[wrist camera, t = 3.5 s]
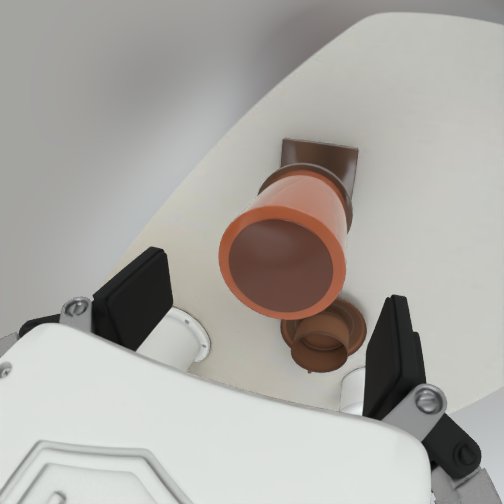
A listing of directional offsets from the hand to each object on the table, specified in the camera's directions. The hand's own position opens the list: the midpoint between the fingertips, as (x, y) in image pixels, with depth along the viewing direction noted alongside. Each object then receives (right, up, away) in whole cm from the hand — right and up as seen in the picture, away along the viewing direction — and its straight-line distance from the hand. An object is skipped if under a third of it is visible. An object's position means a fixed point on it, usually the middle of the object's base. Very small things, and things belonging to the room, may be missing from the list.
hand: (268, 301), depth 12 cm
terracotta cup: (+3, +5, +9) cm, 11 cm away
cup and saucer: (+10, -8, +28) cm, 31 cm away
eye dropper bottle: (+17, -18, +31) cm, 40 cm away
